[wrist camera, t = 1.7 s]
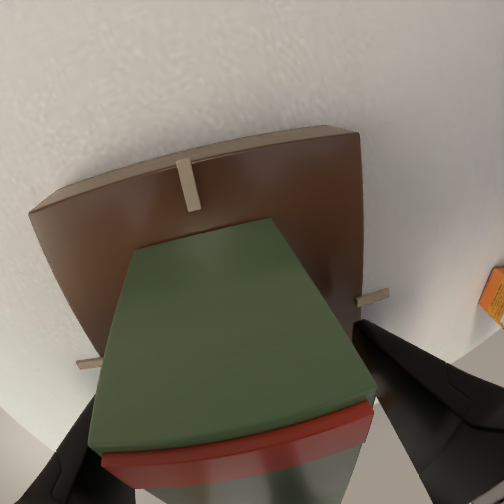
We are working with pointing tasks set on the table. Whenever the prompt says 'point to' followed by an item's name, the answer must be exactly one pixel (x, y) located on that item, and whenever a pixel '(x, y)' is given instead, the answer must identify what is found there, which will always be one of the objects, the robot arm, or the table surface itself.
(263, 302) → the green box
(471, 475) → the robot arm
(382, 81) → the table surface
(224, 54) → the table surface
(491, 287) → the supplement box
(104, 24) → the table surface
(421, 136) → the table surface
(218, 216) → the brown rectangular platform
